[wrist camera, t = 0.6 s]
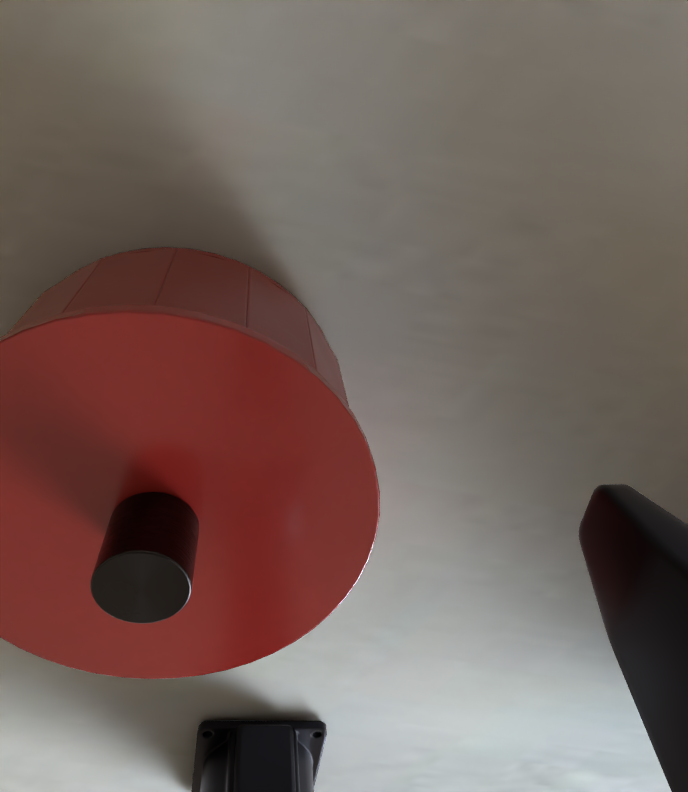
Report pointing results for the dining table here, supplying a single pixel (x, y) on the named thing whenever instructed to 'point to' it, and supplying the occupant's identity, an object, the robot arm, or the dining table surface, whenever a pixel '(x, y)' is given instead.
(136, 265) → the pot
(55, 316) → the pot lid
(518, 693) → the dining table surface
